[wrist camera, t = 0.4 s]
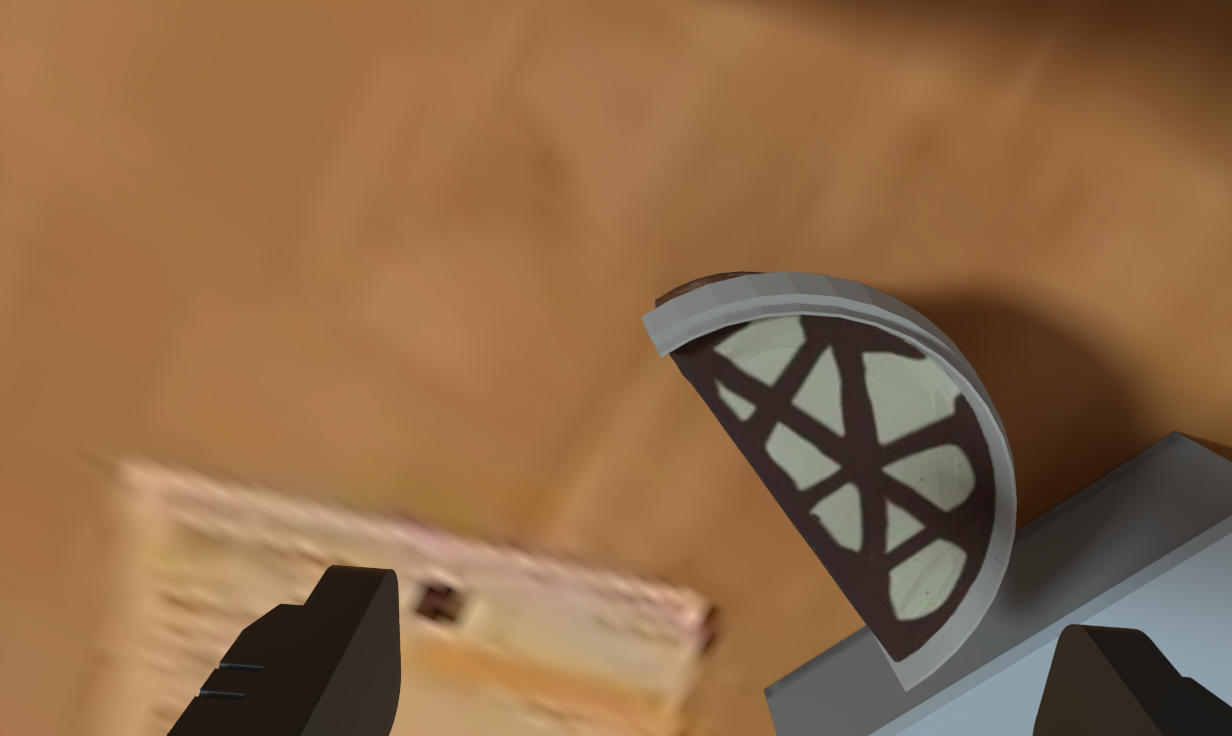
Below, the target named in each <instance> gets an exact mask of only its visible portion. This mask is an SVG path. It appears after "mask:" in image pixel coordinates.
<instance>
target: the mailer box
mask: <svg viewBox="0 0 1232 736" xmlns="http://www.w3.org/2000/svg"><path fill="white" fill-rule="evenodd" d="M1231 515H1232V462H1231V461H1229V460H1227V459H1225V458H1223V457H1222V456H1220V455H1218V454H1216V453H1214V452H1212V451H1211V450H1209V449H1207V448H1205V447H1203V446H1201V445H1199V444H1198V443H1196V442H1194V441H1192V440H1190V439H1188V438H1186V437H1185V436H1183V435H1181V434H1179V433H1177V432H1173V433H1172V434H1170V435H1168V436H1167V437H1165V438H1164V439H1162V440H1160V441H1159V442H1157V443H1156V444H1154V445H1152V446H1151V447H1149V448H1148V449H1146V450H1145V451H1143V452H1141V453H1140V454H1138V455H1137V456H1135V457H1133V458H1132V459H1130V460H1129V461H1127V462H1125V463H1124V464H1122V465H1121V466H1119V467H1117V468H1116V469H1114V470H1113V471H1111V472H1110V473H1108V474H1106V475H1105V476H1103V477H1102V478H1100V479H1098V480H1097V481H1095V482H1094V483H1092V484H1090V485H1089V486H1087V487H1086V488H1084V489H1082V490H1081V491H1079V492H1078V493H1076V494H1075V495H1073V496H1071V497H1070V498H1068V499H1067V500H1065V501H1063V502H1062V503H1060V504H1059V505H1057V506H1055V507H1054V508H1052V509H1051V510H1049V511H1048V512H1046V513H1044V514H1043V515H1041V516H1040V517H1038V518H1036V519H1035V520H1033V521H1032V522H1030V523H1028V524H1027V525H1025V526H1024V527H1022V528H1020V529H1019V530H1017V531H1016V532H1015V537H1014V541H1013V546H1012V550H1011V554H1010V559H1009V563H1008V567H1007V569H1006V572H1005V574H1004V577H1003V579H1002V582H1001V584H1000V587H999V589H998V591H997V594H996V596H995V598H994V600H993V602H992V603H991V605H990V607H989V608H988V610H987V612H986V613H985V615H984V617H983V618H982V620H981V622H980V623H979V625H978V626H977V627H976V629H975V630H974V631H973V632H972V634H971V635H970V636H969V637H968V638H967V640H966V641H965V642H964V643H963V644H962V646H961V647H960V648H959V649H958V651H957V652H956V653H955V654H953V655H952V656H951V657H950V658H949V659H948V660H947V661H946V662H945V663H944V664H943V665H941V666H940V667H939V668H938V669H937V670H936V671H935V672H934V673H933V674H931V675H930V676H929V677H927V678H926V679H924V680H923V681H921V682H920V683H919V684H917V685H916V686H914V687H913V688H911V689H910V690H908V691H907V692H905V690H904V688H903V687H902V685H901V683H900V681H899V679H898V678H897V676H896V674H895V672H894V670H893V669H892V667H891V665H890V663H889V662H888V660H887V658H886V656H885V654H884V653H883V651H882V649H881V647H880V645H879V644H878V642H877V640H876V638H875V636H874V635H873V633H872V631H871V630H870V629H869V627H868V626H867V625H866V626H865V627H863V628H861V629H860V630H858V631H857V632H855V633H853V634H852V635H850V636H849V637H847V638H846V639H844V640H842V641H841V642H839V643H838V644H836V645H834V646H833V647H831V648H830V649H828V650H826V651H825V652H823V653H822V654H820V655H819V656H817V657H815V658H814V659H812V660H811V661H809V662H807V663H806V664H804V665H803V666H801V667H799V668H798V669H796V670H795V671H793V672H791V673H790V674H788V675H787V676H785V677H784V678H782V679H780V680H779V681H777V682H776V683H774V684H772V685H771V686H769V687H768V688H766V689H764V692H765V696H766V699H767V703H768V706H769V710H770V713H771V717H772V720H773V724H774V727H775V730H776V734H777V736H868V735H870V734H872V733H873V732H875V731H877V730H878V729H880V728H881V727H883V726H885V725H886V724H888V723H890V722H891V721H893V720H895V719H896V718H898V717H900V716H901V715H903V714H905V713H906V712H908V711H910V710H911V709H913V708H914V707H916V706H918V705H919V704H921V703H923V702H924V701H926V700H928V699H929V698H931V697H933V696H934V695H936V694H938V693H939V692H941V691H943V690H944V689H946V688H947V687H949V686H951V685H952V684H954V683H956V682H957V681H959V680H961V679H962V678H964V677H966V676H967V675H969V674H971V673H972V672H974V671H976V670H977V669H979V668H980V667H982V666H984V665H985V664H987V663H989V662H990V661H992V660H994V659H995V658H997V657H999V656H1000V655H1002V654H1004V653H1005V652H1007V651H1009V650H1010V649H1012V648H1013V647H1015V646H1017V645H1018V644H1020V643H1022V642H1023V641H1025V640H1027V639H1028V638H1030V637H1032V636H1033V635H1035V634H1037V633H1038V632H1040V631H1042V630H1043V629H1045V628H1046V627H1048V626H1050V625H1051V624H1053V623H1055V622H1056V621H1058V620H1060V619H1061V618H1063V617H1065V616H1066V615H1068V614H1070V613H1071V612H1073V611H1075V610H1076V609H1078V608H1079V607H1081V606H1083V605H1084V604H1086V603H1088V602H1089V601H1091V600H1093V599H1094V598H1096V597H1098V596H1099V595H1101V594H1103V593H1104V592H1106V591H1108V590H1109V589H1111V588H1112V587H1114V586H1116V585H1117V584H1119V583H1121V582H1122V581H1124V580H1126V579H1127V578H1129V577H1131V576H1132V575H1134V574H1136V573H1137V572H1139V571H1141V570H1142V569H1144V568H1145V567H1147V566H1149V565H1150V564H1152V563H1154V562H1155V561H1157V560H1159V559H1160V558H1162V557H1164V556H1165V555H1167V554H1169V553H1170V552H1172V551H1173V550H1175V549H1177V548H1178V547H1180V546H1182V545H1183V544H1185V543H1187V542H1188V541H1190V540H1192V539H1193V538H1195V537H1197V536H1198V535H1200V534H1202V533H1203V532H1205V531H1206V530H1208V529H1210V528H1211V527H1213V526H1215V525H1216V524H1218V523H1220V522H1221V521H1223V520H1225V519H1226V518H1228V517H1230V516H1231Z"/></svg>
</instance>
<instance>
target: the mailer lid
mask: <svg viewBox="0 0 1232 736" xmlns="http://www.w3.org/2000/svg"><path fill="white" fill-rule="evenodd" d="M1070 624H1080V625H1093V626H1106V627H1119V628H1132V629H1138V630H1141V631H1142V632H1144V633H1145V634H1146V635H1147V636H1148V637H1149V638H1150V639H1151V640H1152V641H1153V642H1154V644H1155V645H1156V646H1157V647H1158V648H1159V650H1160V651H1161V652H1162V653H1163V654H1164V655H1165V657H1166V658H1167V659H1168V660H1169V661H1170V663H1171V664H1172V665H1173V666H1174V667H1175V669H1176V670H1177V671H1178V672H1179V673H1180V675H1181V676H1182V677H1191V678H1192V679H1194V680H1195V681H1197V682H1198V683H1199V684H1201V685H1202V686H1203V687H1205V688H1206V689H1208V690H1209V691H1210V692H1212V693H1213V694H1215V695H1216V696H1217V697H1219V698H1220V699H1221V700H1223V701H1224V702H1226V703H1227V704H1228V705H1230V706H1231V707H1232V515H1231V516H1230V517H1228V518H1226V519H1225V520H1223V521H1221V522H1220V523H1218V524H1216V525H1215V526H1213V527H1211V528H1210V529H1208V530H1206V531H1205V532H1203V533H1202V534H1200V535H1198V536H1197V537H1195V538H1193V539H1192V540H1190V541H1188V542H1187V543H1185V544H1183V545H1182V546H1180V547H1178V548H1177V549H1175V550H1173V551H1172V552H1170V553H1169V554H1167V555H1165V556H1164V557H1162V558H1160V559H1159V560H1157V561H1155V562H1154V563H1152V564H1150V565H1149V566H1147V567H1145V568H1144V569H1142V570H1141V571H1139V572H1137V573H1136V574H1134V575H1132V576H1131V577H1129V578H1127V579H1126V580H1124V581H1122V582H1121V583H1119V584H1117V585H1116V586H1114V587H1112V588H1111V589H1109V590H1108V591H1106V592H1104V593H1103V594H1101V595H1099V596H1098V597H1096V598H1094V599H1093V600H1091V601H1089V602H1088V603H1086V604H1084V605H1083V606H1081V607H1079V608H1078V609H1076V610H1075V611H1073V612H1071V613H1070V614H1068V615H1066V616H1065V617H1063V618H1061V619H1060V620H1058V621H1056V622H1055V623H1053V624H1051V625H1050V626H1048V627H1046V628H1045V629H1043V630H1042V631H1040V632H1038V633H1037V634H1035V635H1033V636H1032V637H1030V638H1028V639H1027V640H1025V641H1023V642H1022V643H1020V644H1018V645H1017V646H1015V647H1013V648H1012V649H1010V650H1009V651H1007V652H1005V653H1004V654H1002V655H1000V656H999V657H997V658H995V659H994V660H992V661H990V662H989V663H987V664H985V665H984V666H982V667H980V668H979V669H977V670H976V671H974V672H972V673H971V674H969V675H967V676H966V677H964V678H962V679H961V680H959V681H957V682H956V683H954V684H952V685H951V686H949V687H947V688H946V689H944V690H943V691H941V692H939V693H938V694H936V695H934V696H933V697H931V698H929V699H928V700H926V701H924V702H923V703H921V704H919V705H918V706H916V707H914V708H913V709H911V710H910V711H908V712H906V713H905V714H903V715H901V716H900V717H898V718H896V719H895V720H893V721H891V722H890V723H888V724H886V725H885V726H883V727H881V728H880V729H878V730H877V731H875V732H873V733H872V734H870V735H868V736H1033V728H1034V724H1035V720H1036V716H1037V713H1038V709H1039V706H1040V702H1041V698H1042V695H1043V691H1044V688H1045V684H1046V681H1047V677H1048V674H1049V670H1050V666H1051V663H1052V659H1053V656H1054V652H1055V649H1056V645H1057V641H1058V639H1059V636H1060V634H1061V632H1062V631H1063V629H1064V628H1065V627H1066V626H1068V625H1070Z"/></svg>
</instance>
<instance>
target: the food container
mask: <svg viewBox="0 0 1232 736" xmlns="http://www.w3.org/2000/svg"><path fill="white" fill-rule="evenodd" d="M641 318H642V320H643V322H644V325H645V327H646V329H647V332H648V334H649V336H650V339H651V340H652V342H653V343H654V344H655V346H656V348H657V351H658V354H659V356H660V357H663V356H664V355H666V354H668V353H669V354H670V356H671V358H672V359H673V360H674V361H675V363H676V364H677V366H678V368H679V369H680V371H681V373H682V375H683V376H684V377H685V378H686V379H687V380H688V381H689V382H690V383H691V384H692V385H693V387H694V388H695V389H696V390H697V392H698V393H699V394H700V396H701V397H702V398H703V400H704V401H705V403H706V404H707V405H708V407H709V408H710V410H711V411H712V412H713V414H714V415H715V417H716V418H717V419H718V421H719V422H720V424H721V425H722V426H723V428H724V429H725V431H726V432H727V433H728V435H729V436H730V437H731V439H732V440H733V442H734V443H735V444H736V446H737V447H738V448H739V450H740V451H741V452H742V454H743V455H744V456H745V458H746V459H747V461H748V462H749V463H750V465H751V466H752V467H753V469H754V470H755V472H756V473H757V474H758V476H759V477H760V479H761V480H762V481H763V483H764V484H765V486H766V487H767V488H768V490H769V491H770V493H771V494H772V495H773V497H774V498H775V500H776V501H777V502H778V504H779V505H780V507H781V508H782V509H783V511H784V512H785V514H786V515H787V516H788V518H789V519H790V521H791V522H792V523H793V525H794V526H795V527H796V529H797V530H798V531H799V533H800V534H801V535H802V537H803V538H804V539H805V541H806V542H807V543H808V545H809V546H810V547H811V549H812V550H813V551H814V553H815V554H816V555H817V557H818V558H819V560H820V561H821V562H822V564H823V565H824V567H825V568H826V569H827V571H828V572H829V574H830V575H831V576H832V578H833V579H834V581H835V582H836V583H837V585H838V586H839V588H840V589H841V590H842V592H843V593H844V594H845V596H846V597H847V599H848V600H849V601H850V603H851V604H852V605H853V607H854V608H855V610H856V611H857V612H858V614H859V615H860V616H861V618H862V619H863V621H864V622H865V623H866V625H867V626H868V627H869V629H870V630H871V631H872V633H873V635H874V636H875V638H876V640H877V642H878V644H879V645H880V647H881V649H882V651H883V653H884V654H885V656H886V658H887V660H888V662H889V663H890V665H891V667H892V669H893V670H894V672H895V674H896V676H897V678H898V679H899V681H900V683H901V685H902V687H903V688H904V690H905V692H907V691H908V690H910V689H911V688H913V687H914V686H916V685H917V684H919V683H920V682H921V681H923V680H924V679H926V678H927V677H929V676H930V675H931V674H933V673H934V672H935V671H936V670H937V669H938V668H939V667H940V666H941V665H943V664H944V663H945V662H946V661H947V660H948V659H949V658H950V657H951V656H952V655H953V654H955V653H956V652H957V651H958V649H959V648H960V647H961V646H962V644H963V643H964V642H965V641H966V640H967V638H968V637H969V636H970V635H971V634H972V632H973V631H974V630H975V629H976V627H977V626H978V625H979V623H980V622H981V620H982V618H983V617H984V615H985V613H986V612H987V610H988V608H989V607H990V605H991V603H992V602H993V600H994V598H995V596H996V594H997V591H998V589H999V587H1000V584H1001V582H1002V579H1003V577H1004V574H1005V572H1006V569H1007V567H1008V563H1009V559H1010V554H1011V550H1012V546H1013V541H1014V537H1015V527H1016V510H1017V497H1016V481H1015V472H1014V463H1013V455H1012V452H1011V448H1010V445H1009V442H1008V438H1007V435H1006V431H1005V428H1004V425H1003V422H1002V420H1001V418H1000V416H999V414H998V412H997V410H996V408H995V406H994V404H993V402H992V400H991V398H990V396H989V394H988V392H987V391H986V389H985V387H984V385H983V384H982V382H981V380H980V379H979V377H978V375H977V373H976V372H975V370H974V368H973V367H972V366H971V364H970V363H969V362H968V361H967V359H966V358H965V357H964V355H963V354H962V353H961V351H960V350H959V349H958V347H957V346H956V345H955V344H954V342H953V341H952V340H951V339H950V338H949V337H948V336H946V335H945V334H944V333H943V332H942V331H941V330H940V329H939V328H938V327H937V326H936V325H934V324H933V323H932V322H931V321H930V320H929V319H928V318H927V317H925V316H924V315H922V314H921V313H919V312H917V311H916V310H914V309H913V308H911V307H910V306H908V305H906V304H905V303H903V302H902V301H900V300H899V299H897V298H895V297H893V296H891V295H888V294H886V293H883V292H881V291H879V290H876V289H874V288H871V287H869V286H867V285H864V284H862V283H858V282H854V281H850V280H845V279H841V278H837V277H833V276H829V275H824V274H811V273H797V272H776V273H759V272H742V271H740V272H730V273H720V274H715V275H711V276H707V277H703V278H699V279H696V280H693V281H691V282H689V283H686V284H684V285H681V286H679V287H677V288H675V289H673V290H672V291H670V292H668V293H667V294H665V295H663V296H662V297H660V298H658V299H657V300H655V309H654V310H652V311H651V312H649V313H647V314H646V315H644V316H642V317H641Z"/></svg>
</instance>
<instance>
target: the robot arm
mask: <svg viewBox="0 0 1232 736" xmlns="http://www.w3.org/2000/svg"><path fill="white" fill-rule="evenodd" d="M400 685H401V655H400V625H399V595H398V580H397V576H396V573H395V571H394V570H392V569H379V568H366V567H353V566H340V565H332V566H330V567H329V568H328V569H327V570H326V571H325V573H324V574H323V576H322V578H321V579H320V581H319V582H318V584H317V585H316V587H315V588H314V590H313V591H312V593H311V595H310V596H309V598H308V599H307V601H306V602H305V604H304V605H290V604H279V605H278V606H277V607H275V608H274V609H272V610H271V611H269V612H268V613H267V614H265V615H264V616H262V617H261V618H259V619H258V620H257V621H255V622H254V623H252V624H251V625H249V626H248V627H247V628H245V629H244V630H243V631H242V632H241V634H240V635H239V636H238V638H237V639H236V641H235V642H234V643H233V645H232V646H231V647H230V649H229V650H228V652H227V653H226V654H225V656H224V657H223V658H222V660H221V661H220V666H219V669H215V670H214V671H213V672H212V674H211V675H210V676H209V678H208V679H207V681H206V682H205V683H204V685H203V686H202V687H201V689H200V694H199V696H198V697H196V696H195V697H194V699H193V700H192V701H191V703H190V704H189V705H188V707H187V708H186V710H185V711H184V712H183V714H182V715H181V716H180V718H179V719H178V721H177V722H176V723H175V725H174V726H173V728H172V729H171V730H170V732H169V733H168V734H167V736H389V734H390V731H391V729H392V726H393V723H394V719H395V715H396V711H397V706H398V701H399V694H400ZM1033 736H1232V707H1231V706H1230V705H1228V704H1227V703H1226V702H1224V701H1223V700H1221V699H1220V698H1219V697H1217V696H1216V695H1215V694H1213V693H1212V692H1210V691H1209V690H1208V689H1206V688H1205V687H1203V686H1202V685H1201V684H1199V683H1198V682H1197V681H1195V680H1194V679H1192V678H1191V677H1182V676H1181V675H1180V673H1179V672H1178V671H1177V670H1176V669H1175V667H1174V666H1173V665H1172V664H1171V663H1170V661H1169V660H1168V659H1167V658H1166V657H1165V655H1164V654H1163V653H1162V652H1161V651H1160V650H1159V648H1158V647H1157V646H1156V645H1155V644H1154V642H1153V641H1152V640H1151V639H1150V638H1149V637H1148V636H1147V635H1146V634H1145V633H1144V632H1142V631H1141V630H1138V629H1132V628H1119V627H1106V626H1093V625H1080V624H1070V625H1068V626H1066V627H1065V628H1064V629H1063V631H1062V632H1061V634H1060V636H1059V639H1058V641H1057V645H1056V649H1055V652H1054V656H1053V659H1052V663H1051V666H1050V670H1049V674H1048V677H1047V681H1046V684H1045V688H1044V691H1043V695H1042V698H1041V702H1040V706H1039V709H1038V713H1037V716H1036V720H1035V724H1034V728H1033Z"/></svg>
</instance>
